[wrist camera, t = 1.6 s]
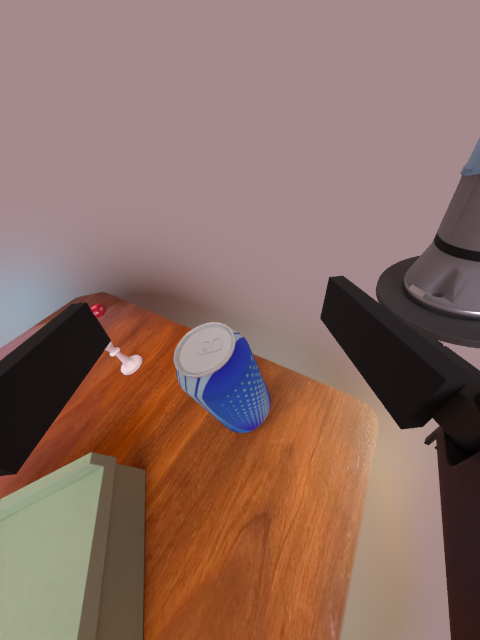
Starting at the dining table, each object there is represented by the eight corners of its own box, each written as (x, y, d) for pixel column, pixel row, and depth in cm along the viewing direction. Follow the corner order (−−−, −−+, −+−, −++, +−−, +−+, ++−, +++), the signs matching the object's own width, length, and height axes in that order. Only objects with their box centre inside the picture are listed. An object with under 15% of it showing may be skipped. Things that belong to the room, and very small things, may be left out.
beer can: (254, 448, 25) (207, 404, 14) (210, 416, 30) (149, 365, 19) (281, 393, 29) (259, 326, 19) (238, 372, 34) (201, 309, 23)
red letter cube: (105, 309, 67) (99, 303, 65) (103, 314, 65) (96, 308, 63) (98, 312, 67) (91, 306, 65) (95, 317, 65) (88, 311, 63)
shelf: (145, 679, 16) (19, 805, 9) (-118, 841, 15) (-498, 1134, 8) (147, 465, 28) (91, 451, 21) (1, 542, 26) (-110, 555, 19)
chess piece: (137, 373, 41) (102, 346, 34) (118, 376, 42) (80, 351, 35) (145, 354, 45) (114, 327, 38) (128, 358, 45) (94, 331, 39)
